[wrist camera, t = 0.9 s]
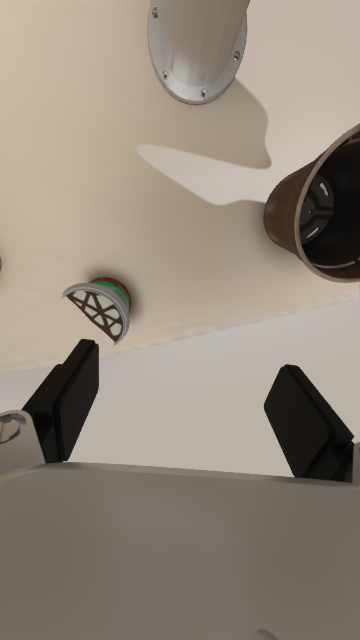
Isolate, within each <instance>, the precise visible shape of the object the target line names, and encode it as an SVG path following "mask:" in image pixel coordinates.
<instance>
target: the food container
mask: <svg viewBox="0 0 360 640" xmlns="http://www.w3.org/2000/svg"><path fill="white" fill-rule="evenodd" d="M62 295H63V296H62V297H64V296H67V297H68V298H69V300H71V301H72V302H73V303H74V304H75V305H76V306H77V307H78V308H79V309H80V310H81V311H82V312H83V313H84V314H85V315H86V316H87V317H88V318H89V319H90V320H91V321H92V322H93V323H94V324H95V325H97V326H98V327H99V328H100V329H102V330H103V331H104V332H105V333H106V334H107V335H108V336H109V337H110V338H111V339H112V340H113V341H115V343H114V346H115V345H117V344H118V343H119V342H120V341H121V340H122V339H123V338H124V336H125V335H126V333H127V331H128V328H129V324H130V317H129V309H130V303H131V300H130V295H129V293H128V291H127V289H126V288H125V286H124V285H122V284H121V283H120V282H118V281H116V280H114V279H111V278H98V279H95V280H93V281H91V282H89V283H80V284H76V285H73V286H71V287H69V288H68V289H66V290H65V291H64V293H63V294H62Z"/></svg>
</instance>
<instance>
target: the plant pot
mask: <svg viewBox="0 0 360 640" xmlns="http://www.w3.org/2000/svg"><path fill="white" fill-rule="evenodd" d="M321 183H323V184H324V185H325V186H326V188H327V190H328V193H329V196H326V195H325V192H324V190H323V189H322V188H321V187H320V184H321ZM304 198H305V199H306V200H305V202H303V200H304ZM310 210H312V211H313V213H312V214H309V211H310ZM299 222H300V223H299ZM264 225H265V229H266V232H267V234H268V235H269V237H270V238H271V240H272V241H273V242H274V243H276V244H277V245H279V246H281V247H283V248H285V249H287V250H288V251H290V252H292V253H294V254H295V255H297V257H298V258H299V259H300V260H301V261H303V263H304V264H305V265H306V266H307V267H308V268H309V269H310V270H311V271H312V272H314V273H315V274H316V275H318V276H320V277H322V278H324V279H326V280H329V281H333V282H339V283H355V282H360V124H358V125H356V126H355V127H353V128H352V129H350V130H349V131H347V132H346V133H345V134H343V135H342V136H341V137H340V138H339V139H337V140H336V141H335V142H334V143H333V144H332V145H331V146H330V147H329V148H328V149H327V150H326V151H325V152H323V153H322V154H321V155H320V156H319V157H318V158H316V160H314V161H313V162H311V163H309V164H308V165H306V166H304V167H303V168H301V169H299V170H297V171H296V172H294V173H292V174H291V175H288V176H287V177H286V178H284V179H283V180H282V181H281V182H280V183H279V184H278V185H277V186H276V187H275V188H274V190H273V191H272V193H271V194H270V196H269V198H268V200H267V202H266V209H265V214H264ZM317 227H319V230H318V231H317V232H316V233H315V234H314V235H312V236H311V237H309V238H306V237H307V236H308V235H309V234H311V233H312V232H313V231H314V230H315V229H316V228H317Z"/></svg>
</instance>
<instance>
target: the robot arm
mask: <svg viewBox="0 0 360 640" xmlns="http://www.w3.org/2000/svg"><path fill="white" fill-rule="evenodd" d="M249 2H250V0H152V2H151V5H150V11H149V17H148V42H149V50H150V55H151V60H152V63H153V66H154V69H155V72H156V74H157V76H158V78H159V80H160V82H161V83H162V84H163V86H164V87H165V89H166V90H167V91H168V92H169V93H170V94H171V95H172V96H173V97H175V98H177V99H178V100H180V101H182V102H185V103H188V104H197V105H198V104H203V103H207V102H209V101H211V100H214V99H215V98H216V97H218V96H219V95H220V94H222V93H223V92H224V90H225V89H226V88H227V87H228V86H229V85H230V83H231V81H232V80H233V78H234V77H235V75H236V72H237V70H238V68H239V66H240V63H241V61H242V58H243V54H244V49H245V45H246V36H247V14H246V10H247V7H248V5H249ZM155 16H157V18H154V17H155ZM234 58H236V59H237V61H236V60H234ZM164 76H167V77H168V78H167V79H164ZM202 94H204V95H205V97H202V96H201V95H202ZM98 387H99V345H98V344H96V343H95V341H94V340H88V339H81V340H80V342H79V343H78V344H77V346H76V347H75V348H74V350H73V351H72V352H71V354H70V355H69V356H68V358H67V359H66V360H65V362H64V363H63V364H58V365H56V366H55V367H54V368H53V370H52V371H51V372H50V373H49V375H48V376H47V377H46V379H45V380H44V381H43V382H42V384H41V385H40V386H39V388H38V389H37V390H36V391H35V393H34V394H33V395H32V397H31V398H30V399H29V400H28V402H27V403H26V404H25V406H24V407H23V408H22V410H11V411H6V412H3V413H0V640H360V442H358V443H356V444H354V443H353V442H352V441H351V440H352V439H353V438H354V435H353V434H352V433H351V431H350V430H349V429H348V428H347V426H346V425H345V424H344V423H343V421H342V420H341V419H340V418H339V417H338V415H337V414H336V413H335V411H334V410H333V409H332V408H331V406H330V405H329V404H328V403H327V401H326V400H325V399H324V398H323V396H322V395H321V394H320V393H319V391H318V390H317V389H316V388H315V386H314V385H313V384H312V383H311V381H310V380H309V379H308V378H307V376H306V375H305V374H304V372H303V371H302V370H301V369H300V367H298V366H295V365H288V364H286V365H284V367H281V368H280V370H279V373H278V375H277V377H276V379H275V381H274V383H273V385H272V388H271V390H270V392H269V394H268V396H267V398H266V401H265V403H264V410H265V413H266V415H267V417H268V419H269V422H270V424H271V426H272V428H273V430H274V433H275V435H276V437H277V439H278V442H279V444H280V446H281V449H282V451H283V453H284V455H285V457H286V460H287V462H288V464H289V466H290V468H291V471H292V473H293V475H294V477H283V476H271V475H259V474H245V473H233V472H220V471H207V470H193V469H180V468H166V467H151V466H136V465H123V464H102V463H83V462H82V463H81V462H80V463H79V462H63V461H67V460H68V459H69V457H70V455H71V453H72V450H73V448H74V446H75V443H76V441H77V439H78V436H79V434H80V432H81V429H82V427H83V425H84V422H85V420H86V418H87V416H88V413H89V411H90V409H91V406H92V404H93V401H94V399H95V397H96V394H97V392H98Z"/></svg>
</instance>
